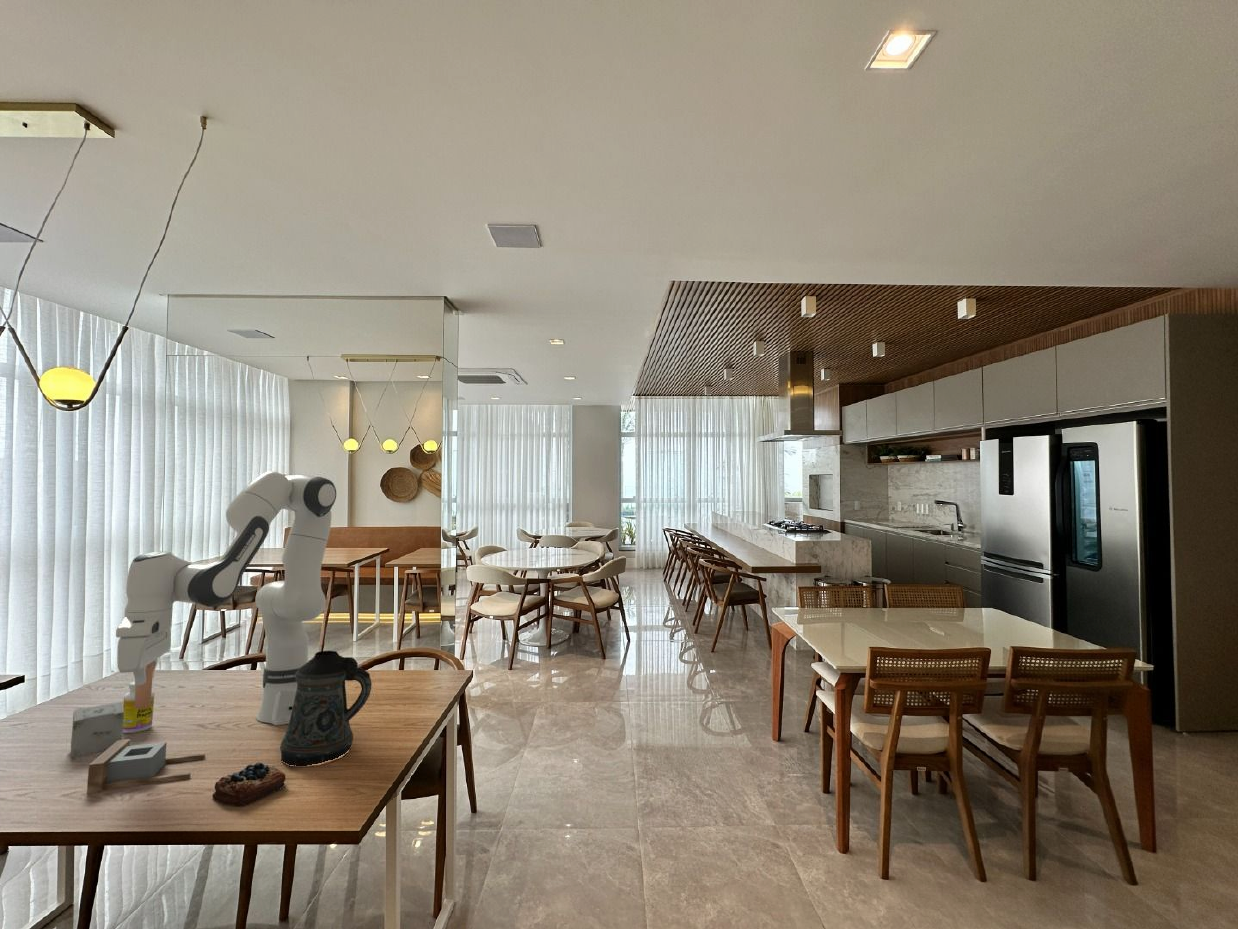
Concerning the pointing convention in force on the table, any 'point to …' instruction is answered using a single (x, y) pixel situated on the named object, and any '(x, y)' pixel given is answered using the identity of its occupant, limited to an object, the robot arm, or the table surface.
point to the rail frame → (99, 779)
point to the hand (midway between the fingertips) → (144, 681)
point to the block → (137, 762)
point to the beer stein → (323, 710)
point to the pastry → (248, 785)
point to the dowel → (144, 690)
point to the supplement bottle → (136, 713)
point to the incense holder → (96, 728)
